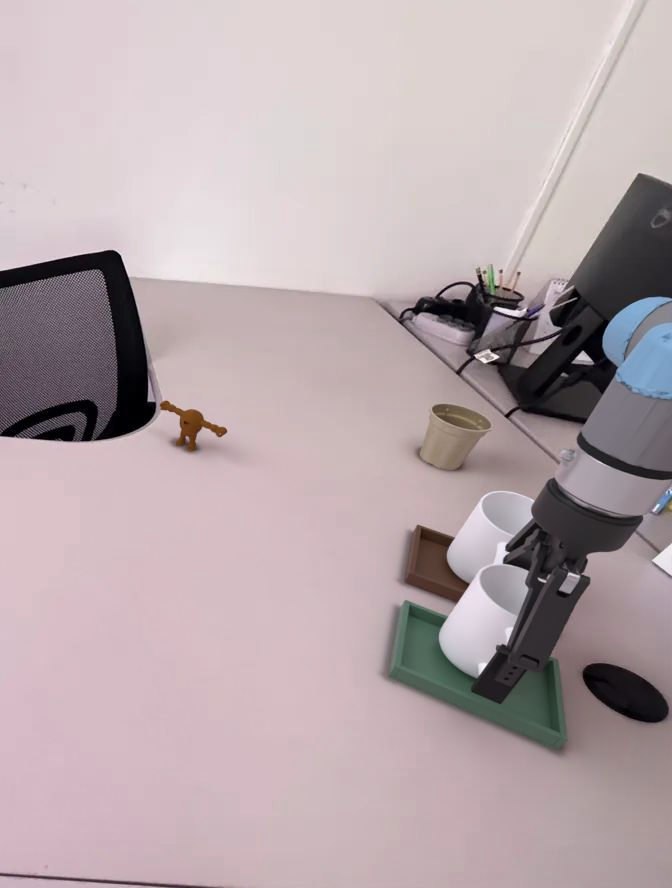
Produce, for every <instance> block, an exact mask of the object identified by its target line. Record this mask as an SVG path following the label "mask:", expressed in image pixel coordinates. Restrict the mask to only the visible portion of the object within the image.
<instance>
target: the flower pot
mask: <svg viewBox="0 0 672 888" xmlns="http://www.w3.org/2000/svg"><path fill="white" fill-rule="evenodd" d="M428 410H429V413H430V414H429V416H428V419H429V422H428V424H427V425H428V426H427V428H426V432H425V435H424V438H423V442H422V445H421V449H420V451H419V456H420V458H421V459H422V460H423V461H424V462H425V463H427V464H430V465H432V466H434V467H436V468H437V469H442V470H448V471H454V470H457V469H459V468H460V467H461V466H462V464H463V463H464V462H465V460H466V458H467V457H468V456H469V454H470V453H471V452H472V451H473V449H474V448H475V447H476V446H477V444H478V443H479V442H480V440H481V439H482V438H484V437H485V436H486V435H487V433H489V432H491V431H492V430H493V428H494V427H495V426H494V422H492V420H491V419H490V418H489V417H487V416H486V415H485V414H483V413H482V412H479V411H477V410H476V409H474V408H470V407H468V406H465V405H462V404H457V403H452V402H436V403H433V404H430V406H429V409H428Z"/></svg>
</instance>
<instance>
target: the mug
mask: <svg viewBox="0 0 672 888" xmlns="http://www.w3.org/2000/svg"><path fill="white" fill-rule="evenodd" d="M534 501H535V499H532V498H530V497H528V496H526V495H523V494H521V493H517V492H513V491H508V490H495V491H491V492H488V493H486V494H484V495H483V496H482V497H481V498H480V500H479V502H478V503H477V504H476V505H475V508H474V509H473V510H472V511H471V513H470V514H469V516H468V518H467V519H466V521H465V522H464V523H463V524H462V525H463V526H462V527H461V528H460V529H459V531H458V533H457V534H456V535H455V536H454V537H455V539H454V540H453V542H452V543H451V545H450V547H449V549H448V551H447V561H448V564H449V566H450V568H451V569H452V570H453V572H454V573H455V574H456V575H457V576H458V577H459V578H461V579H462V580H463V581H465V582H466V583H468V584H471V582H472V581H473V579H474V578H475V577H476V575H477V574H478V572H479V571H480V570H481V569H482V568H483V567H485V566H487V565H491V564H503V558H504V557H505V555H507V554H509V552H507V551H505V546H506V544H508V542H509V541H510V540H511V539H512V538H513V537H514V536H515V535H516V534H517V533H518V532H519V531H520V530H521V529H522V528H523V527H524V526H525V525H526V524H527V523H528V522H529V521H530V520H531V519H532V518H533V516H532V514H531V507H532V505H533V503H534Z"/></svg>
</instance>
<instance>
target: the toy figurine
mask: <svg viewBox="0 0 672 888" xmlns="http://www.w3.org/2000/svg"><path fill="white" fill-rule="evenodd" d="M159 407H160V411H166V412H167V411H168V412H169V413H175V415H177V416H178V417H179V427H180V432H179V433H180V434H179V438H178V440H177V441H175V443H174V444H175V445H176V446H178V447H183V446H185V445H186V444H187V443H186V441H187V438H188V440H189V441H188V444H187V446H186V447H185V450H186V451H188V452H194V451H196V450H197V442H196V440H197V436H198V434H199V433H200V432H201V431H202V429H203V428H204V429H207V430H210V431H211V432H212V433H214V434H215V435H216V437H217V438H222V437H224V435H226V434H227V433H228V429H227V428H226V427H225V426H219V425H218V424H215V423H211V422H210V421H207V420H205V417H204V415H203V413H201V412H200V411H199V410H197V409H193V408H189V409H186V410H183V409H181V408H180V407H177V406H176V405H175V404H172V403H171V402H170V401H169V400H163V401H162V402H160V403H159Z"/></svg>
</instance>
